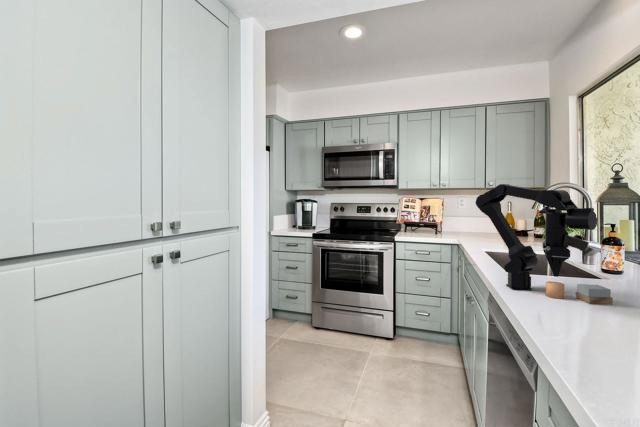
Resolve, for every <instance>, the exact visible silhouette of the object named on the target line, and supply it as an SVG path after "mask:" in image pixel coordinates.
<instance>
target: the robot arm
mask: <svg viewBox="0 0 640 427" xmlns="http://www.w3.org/2000/svg"><path fill="white" fill-rule="evenodd" d="M507 196H508V197H514V198H519V199H524V200H525V199H526V200H531V201H534V202H536V203H538V204H540V205H543V206H544V207H543V208H542V209H541V210H539V211H538V214H541V215H542V214H545V226H544V227H545V229H544V234H545V235H544V241H543V242H542V251H543V253H544V255H545V258H546V261H547V263H548V265H549V268H550V270H551V272H552V275H553V277H557V278H558V277H559V275H560V272H561V268H562V265H563V263H564V262H565V261H567V260H569V259H570V258H571V250H570V249H569V247H572V248H574V249H577V250H579V251H580V252H583V253H585V252H586V250H587V249H588V247H589V244H590V242H589V241H587V240H584V239H583V236H582V235H579V234H575V235H574V236H572V235H569V232H568V230H567V227H569V228H570V229H573V230H575V229H576V230H586V231H587V230H588V231H594V230H595V229H596V227H597V226H598V217H597V214H596V212H595V208H594V207H584V208H583V207H582V208H581V207H578V206H577V205H576V204H575V202H574V201H573V200H572V199H571V195H570V193H569V192H568V191H567V190H564V189H545V190H544V189H535V188H529V187H524V186H518V185H511V184H508V183H501V184H498V185H496V186H495V187H494V188H492V189H490V190H488V191H486V192H484V193H483V194H480V195H478V196H477V197H476V199H475V206H476V207H477V208H478V209H479V210H480V212H482V213H483V214H484V215H485V216H487V217H488V218H489V220H490V221H491V223H492V225H493V226H494V228H495V230H496V231H497V232H498V234H499V236H500V238H501V240H502V241H503V242H504V244H505V246H506V247H507V249H508V250H507V251H508V258H509V260H510V261H509V262H507V263H506V264H505V265H504V266H503V267H504V271H505V273H507V283H506V284H505V286H507V287H508V288H509V289H511V290H512V291H533V288H531V287H532V276H531V272H533V269H534V267H536V266H537V264H538V257H537V256H538V254H537V253H536V252H535V251H534V249H533V247H532V245H524V244H523V243H522V242H521V240H520V238H519V237H518V236H517V234H516V232H515V231H514V229H513V228H512V226H511V224H510V223H509V222H508V220H507V218H506V217H505V215H504V214H503V212H502V201H504V200H505V198H506V197H507Z"/></svg>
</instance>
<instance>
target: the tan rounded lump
mask: <svg viewBox="0 0 640 427" xmlns="http://www.w3.org/2000/svg"><path fill="white" fill-rule="evenodd" d="M545 297H548V298H551V299H554V300H555V299H557V300H562V299H565V283H562V282H559V281H546V282H545Z"/></svg>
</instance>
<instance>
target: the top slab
mask: <svg viewBox="0 0 640 427" xmlns="http://www.w3.org/2000/svg"><path fill="white" fill-rule="evenodd" d="M576 292H579V293H581V294H583V295H586V296H588V297H606V298H610V297H611V295H612V294H611V293H612V292H611V288H607V287H605V286H602V285H600V284H590V283H589V284H587V283H586V284H585V283H584V284H583V283H581V284H580V283H577V284H576Z"/></svg>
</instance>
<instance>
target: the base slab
mask: <svg viewBox="0 0 640 427" xmlns="http://www.w3.org/2000/svg"><path fill="white" fill-rule="evenodd" d="M575 298H576V299H578V300H580V301H581V302H584V303H586V304H588V305H599V306H600V305H602V306H603V305H604V306H605V305H609V306H613V303H614V297H610V298H606V297H588V296H586V295H583V294H581V293H579V292H577V291H575Z"/></svg>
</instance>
